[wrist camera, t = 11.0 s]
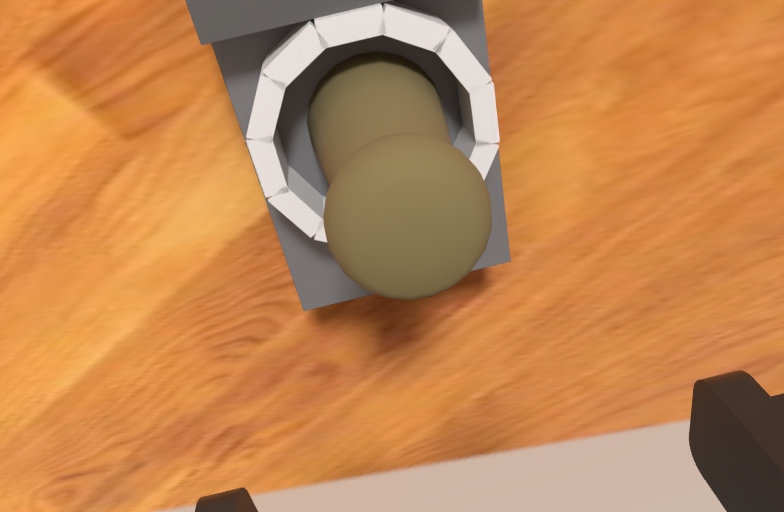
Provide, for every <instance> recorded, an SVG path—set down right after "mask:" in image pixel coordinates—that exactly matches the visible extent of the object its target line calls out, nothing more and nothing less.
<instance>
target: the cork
mask: <svg viewBox="0 0 784 512" xmlns="http://www.w3.org/2000/svg"><path fill="white" fill-rule="evenodd" d="M307 126H308V131H309V136H310V141H311V144H312V147H313V149H314V151H315V153H316V156H317V158H318V160H319V163H320V165H321V167H322V169H323V172H324V174H325V176H326V179H327V181H328V183H329V185H330V187H329V189H328V191H327V195H326V201H325V208H324V215H323V221H324V229H325V234H326V239H327V243H328V248H329V249H330V251H331V253H332V254H333V256H334V257H335V259H336V261H337V262H338V264H339V265H340V267H341V269H342V270H343V272H344V273H345V275H347V276H348V277H349V278H350V279H352V280H353V281H354V282H355V283H357V284H358V285H359V286H360V287H362V288H363V289H366V290H368V291H371V292H373V293H376V294H379V295H381V296H384V297H387V298H394V299H406V300H413V299H419V298H424V297H430V296H434V295H436V294H438V293H440V292H442V291H445V290H447V289H449V288H451V287H453V286H454V285H455V284H457V283H458V282H459V281H460V280H461V279H463V278H464V277H465V276H466V275H467V274H469V273H470V271H471V270H472V269H473V267H474V266H475V264H476V263H477V261H478V260H479V258H480V257H481V256H482V254H483V253H484V251H485V250H486V246H487V243H488V240H489V236H490V233H491V230H492V214H491V197H490V194H489V192H488V189H487V187H486V184H485V182H484V180H483V177H482V175H481V173H480V172H479V170H478V169H477V167H476V166H475V165H474V164H473V163H472V162H471V161H470V160H469V159H468V158H467V157H466V156H465V155H464V154H463V153H462V152H461V151H460V149H458V148H456V147H454V146H452V144H451V139H450V135H449V130H448V126H447V121H446V117H445V112H444V108H443V103H442V100H441V97H440V95H439V93H438V91H437V88H436V86H435V84H434V81H433V80H432V79H431V78H430V77H429V76H428V75H427V74H426V73H425V71H424V70H423V69H422V68H421V67H420V66H419V65H417V64H415V63H414V62H412V61H410V60H408V59H406V58H404V57H403V56H401V55H397V54H391V53H385V52H379V51H376V52H369V53H363V54H357V55H354V56H352V57H350V58H348V59H346V60H344V61H342V62H340V63H338V64H336V65H335V66H334V67H333V68H332V69H331V70H330V71H329V72H328V73H327V74H326V75H325V76H324V77H323V78H322V79H321V80H320V81H319V83H318V85H317V87H316V89H315V91H314V93H313V95H312V97H311V99H310V101H309V109H308V118H307Z"/></svg>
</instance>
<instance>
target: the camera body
mask: <svg viewBox="0 0 784 512" xmlns="http://www.w3.org/2000/svg"><path fill="white" fill-rule="evenodd" d="M186 3H187V6H188V9H189V12H190V15H191V17H192V20H193V23H194V26H195V29H196V32H197V34H198V37H199V40H200V43H201V45H204V44H209V43H211V44H212V46H213V49H214V52H215V55H216V58H217V61H218V64H219V67H220V70H221V72H222V75H223V78H224V81H225V84H226V87H227V90H228V93H229V96H230V99H231V101H232V104H233V107H234V110H235V113H236V116H237V119H238V122H239V125H240V128H241V130H242V133H243V136H244V139H245V142H246V145H247V148H248V151H249V154H250V156H251V159H252V162H253V165H254V168H255V171H256V174H257V177H258V180H259V183H260V185H261V188H262V191H263V194H264V197H265V200H266V203H267V206H268V209H269V212H270V214H271V217H272V220H273V223H274V226H275V229H276V232H277V235H278V238H279V241H280V243H281V246H282V249H283V252H284V255H285V258H286V261H287V264H288V267H289V269H290V272H291V275H292V278H293V281H294V284H295V287H296V290H297V293H298V296H299V298H300V301H301V304H302V307H303V310H304V311H306V310H310V309H314V308H318V307H323V306H327V305H331V304H335V303H339V302H344V301H348V300H352V299H356V298H360V297H364V296H369V295H373V294H376V293H373V292H371V291H368V290H366V289H363V288H362V287H360V286H359V285H358V284H357V283H355V282H354V281H353V280H352V279H350V278H349V277H348V276H347V275H345V273H344V272H343V270H342V269H341V267H340V265H339V264H338V262H337V261H336V259H335V257H334V256H333V254H332V253H331V251H330V249H329V248H328V243H327V239H326V234H325V229H324V221H323V215H324V208H325V201H326V195H327V191H328V189H329V187H330V185H329V183H328V181H327V179H326V176H325V174H324V172H323V169H322V167H321V165H320V163H319V160H318V158H317V156H316V153H315V151H314V149H313V147H312V144H311V141H310V136H309V131H308V126H307V118H308V109H309V101H310V99H311V97H312V95H313V93H314V91H315V89H316V87H317V85H318V83H319V81H320V80H321V79H322V78H323V77H324V76H325V75H326V74H327V73H328V72H329V71H330V70H331V69H332V68H333V67H334V66H335V65H336V64H338V63H340V62H342V61H344V60H346V59H348V58H350V57H352V56H354V55H357V54H363V53H369V52H376V51H379V52H385V53H391V54H397V55H401V56H403V57H404V58H406V59H408V60H410V61H412V62H414V63H415V64H417V65H419V66H420V67H421V68H422V69H423V70H424V71H425V73H426V74H427V75H428V76H429V77H430V78H431V79H432V80H433V81H434V84H435V86H436V88H437V91H438V93H439V95H440V97H441V100H442V103H443V108H444V112H445V117H446V121H447V126H448V130H449V135H450V139H451V144H452V146H454V147H456V148H458V149H460V151H461V152H462V153H463V154H464V155H465V156H466V157H467V158H468V159H469V160H470V161H471V162H472V163H473V164H474V165H475V166H476V167H477V169H478V170H479V172H480V173H481V175H482V177H483V180H484V182H485V184H486V187H487V189H488V192H489V194H490V197H491V214H492V230H491V233H490V236H489V240H488V243H487V246H486V250H485V251H484V253H483V254H482V256H481V257H480V258H479V260H478V261H477V263H476V264H475V266H474V267H473V269H472V270H471V271H473V270H477V269H481V268H486V267H490V266H494V265H498V264H502V263H507V262H511V260H510V251H509V242H508V233H507V224H506V214H505V205H504V196H503V187H502V178H501V169H500V160H499V151H498V148H499V145H498V142H500V138H499V129H498V119H497V110H496V101H495V91H494V83H493V82H492V81H491V80H492V78H491V77H490V68H489V59H488V50H487V41H486V32H485V23H484V14H483V4H482V0H186Z"/></svg>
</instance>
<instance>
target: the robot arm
mask: <svg viewBox="0 0 784 512" xmlns="http://www.w3.org/2000/svg"><path fill="white" fill-rule="evenodd" d="M689 444H690V449H691V453H692V456H693V459H694V461H695V463H696V466H697V468H698V469H699V471H700V473H701V475H702V476H703V478H704V479H705V480H706V482H707V483H708V485H709V486H710V488H711V489H712V491H713V492H714V494H715V495H716V496H717V498H718V499H719V501H720V502H721V504H722V505H723V507H724V508H725V510H726V511H727V512H784V394H780V395H776V396H771V397H770V396H769V395H768V393H767V392H766V391H765V390H764V389H763V388H762V387H761V386H760V385H759V384H758V383H757V382H756V381H755V379H754V378H753V377H751V376H750V375H749V374H748V373H746V372H744V371H741V370H740V371H735V372H730V373H726V374H722V375H718V376H714V377H709V378H705V379H701V380H698V381H696V382H695V384H694V388H693V399H692V410H691V420H690V431H689ZM195 512H258V511H257V509H256V507H255V505H254V503H253V501H252V499H251V497H250V495H249V493H248V491H247V490H246V489H245V488H238V489H234V490H230V491H225V492H221V493H217V494H213V495H209V496H205V497H201V498H200V499H199V500H198V502H197V505H196V509H195Z"/></svg>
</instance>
